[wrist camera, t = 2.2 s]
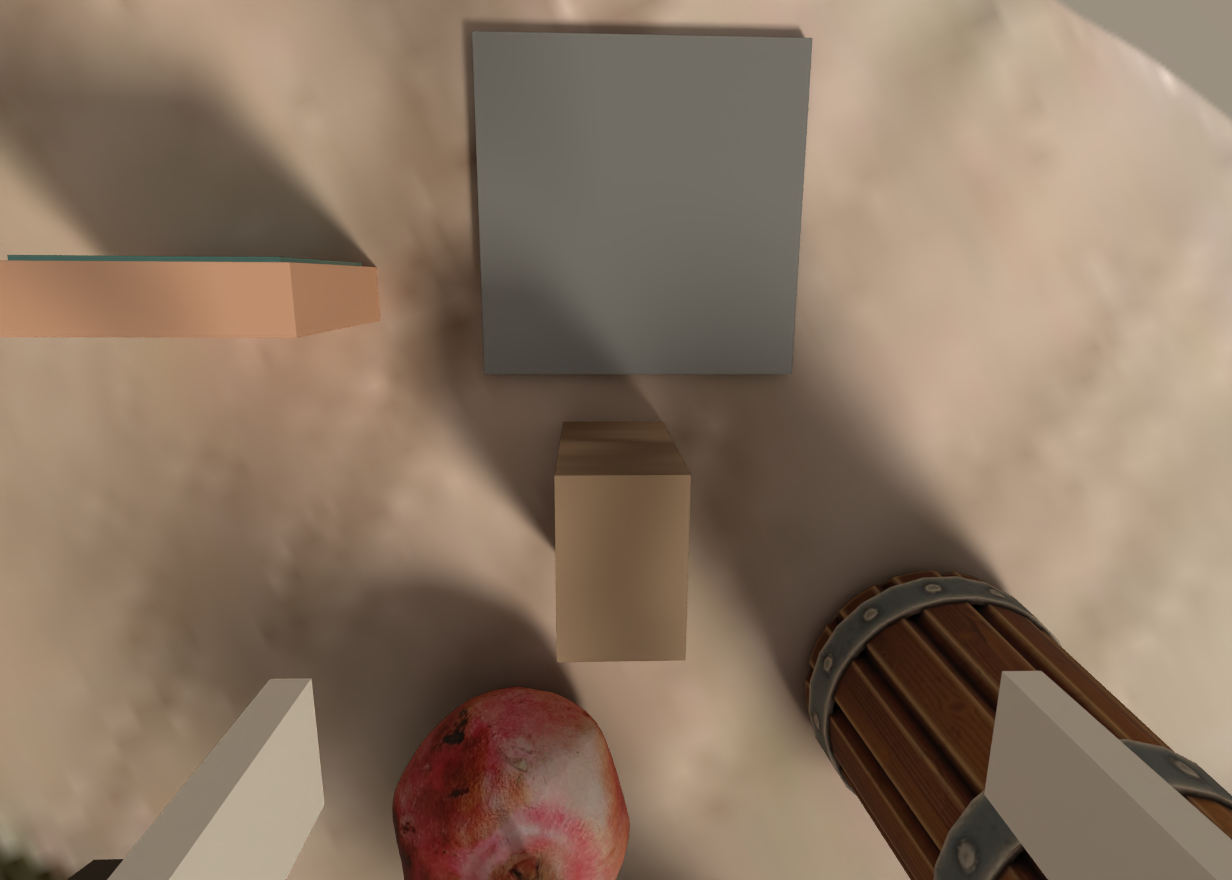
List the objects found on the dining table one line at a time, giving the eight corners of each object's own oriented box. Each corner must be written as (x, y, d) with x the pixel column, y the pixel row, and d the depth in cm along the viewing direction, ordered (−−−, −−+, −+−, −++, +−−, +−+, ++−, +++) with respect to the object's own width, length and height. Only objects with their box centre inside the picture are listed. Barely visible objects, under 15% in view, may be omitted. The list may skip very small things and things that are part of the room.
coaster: (486, 372, 28) (484, 374, 27) (474, 36, 25) (472, 31, 24) (788, 372, 28) (791, 374, 28) (808, 42, 25) (812, 37, 25)
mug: (787, 584, 30) (975, 869, 16) (1029, 544, 30) (1443, 792, 16) (819, 881, 34) (997, 1341, 19) (1035, 845, 34) (1378, 1277, 19)
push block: (564, 561, 30) (556, 662, 22) (563, 421, 28) (554, 475, 20) (659, 560, 30) (685, 660, 22) (662, 421, 28) (690, 475, 21)
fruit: (428, 844, 32) (360, 1087, 23) (410, 658, 30) (326, 838, 21) (626, 834, 33) (643, 1069, 23) (622, 649, 31) (638, 822, 21)
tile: (167, 320, 27) (-6, 336, 19) (159, 261, 26) (-21, 254, 18) (380, 320, 27) (296, 337, 19) (376, 263, 27) (288, 256, 19)
